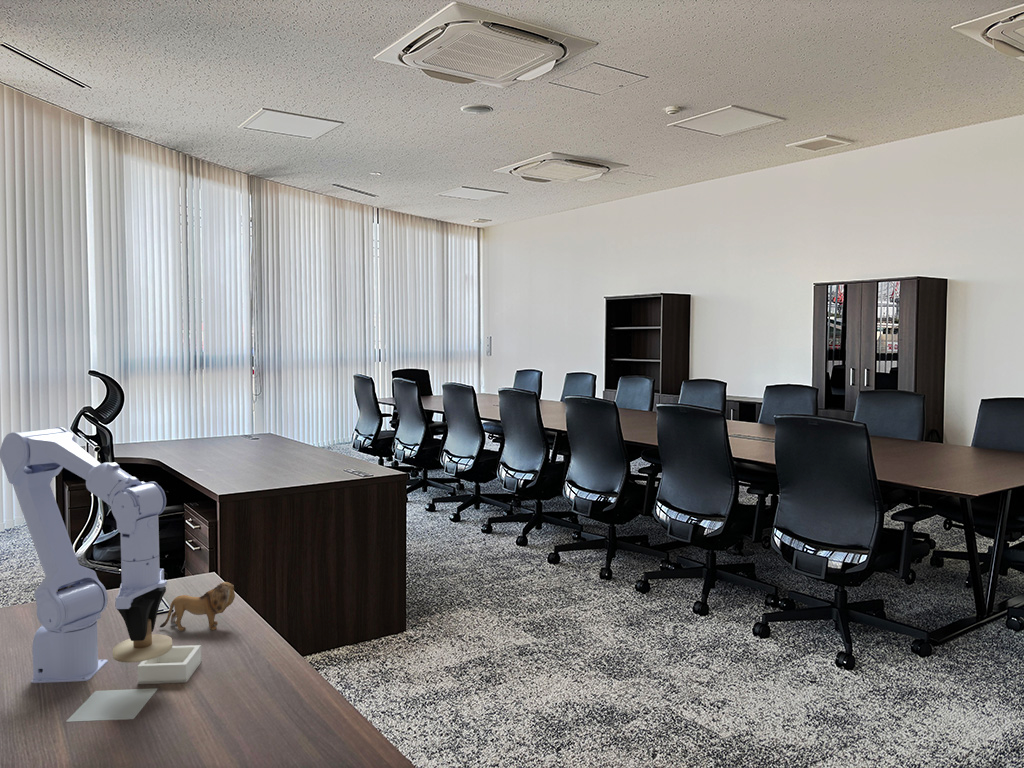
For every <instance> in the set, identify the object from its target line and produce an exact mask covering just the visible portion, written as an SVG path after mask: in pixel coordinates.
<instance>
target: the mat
mask: <svg viewBox="0 0 1024 768" xmlns="http://www.w3.org/2000/svg"><path fill="white" fill-rule="evenodd" d="M158 690H159V688H134V689H133V688H132V689H131V688H130V689H111V690H110V689H109V690H108V689H107V690H95V691H94V692H92V694H91V695H90V696H89V697H88V698H87V699H86V700H85V701H84V702H83V703H82V704H81V705H80V706H79V708H77V709H76V710H75V711H74V712H73V713H72V715H71V716H69V718H67V720H65V723H77V722H97V721H98V722H99V721H101V722H102V721H120V720H122V721H123V720H134V719H135V718H136V716H137V715H139V713H140V712H141V710H143V708H144V707H145V705H147V703H148V701H150V699H151V698H152V697H153V695H154V694H155V693H156V692H157V691H158Z"/></svg>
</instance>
